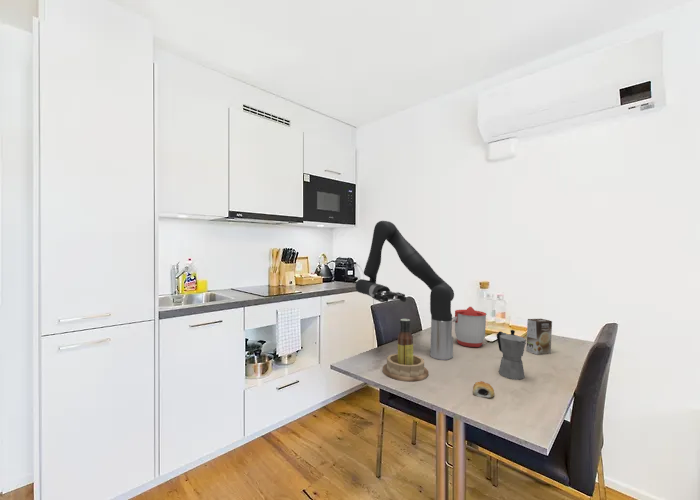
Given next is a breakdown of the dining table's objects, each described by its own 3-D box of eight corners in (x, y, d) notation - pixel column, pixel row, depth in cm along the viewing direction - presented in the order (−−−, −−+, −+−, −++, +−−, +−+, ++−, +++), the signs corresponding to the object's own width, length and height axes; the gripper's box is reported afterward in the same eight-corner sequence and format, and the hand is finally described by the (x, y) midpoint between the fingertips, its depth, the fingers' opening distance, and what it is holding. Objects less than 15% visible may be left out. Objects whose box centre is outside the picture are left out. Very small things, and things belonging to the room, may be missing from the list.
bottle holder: (413, 362, 138) (413, 350, 138) (437, 378, 121) (438, 365, 121) (375, 366, 132) (375, 354, 132) (395, 383, 115) (395, 370, 115)
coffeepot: (534, 381, 121) (535, 334, 121) (513, 382, 119) (514, 334, 118) (506, 366, 136) (507, 324, 136) (486, 367, 134) (487, 325, 134)
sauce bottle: (414, 367, 128) (415, 318, 128) (412, 373, 122) (413, 322, 122) (398, 365, 131) (399, 317, 130) (395, 370, 125) (396, 320, 125)
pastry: (473, 385, 116) (474, 375, 116) (493, 389, 113) (494, 378, 113) (472, 396, 107) (472, 385, 107) (494, 400, 104) (494, 389, 104)
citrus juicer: (448, 339, 176) (449, 303, 175) (480, 341, 173) (482, 304, 173) (453, 347, 160) (454, 308, 160) (489, 350, 158) (490, 310, 158)
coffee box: (537, 355, 152) (538, 321, 152) (525, 351, 158) (526, 318, 158) (551, 353, 155) (552, 320, 155) (539, 349, 161) (540, 318, 161)
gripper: (366, 284, 148) (382, 290, 133) (393, 284, 153) (411, 290, 138) (365, 300, 149) (380, 308, 133) (392, 300, 154) (410, 307, 139)
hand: (396, 299), depth 136 cm, fingers open, 8 cm apart
